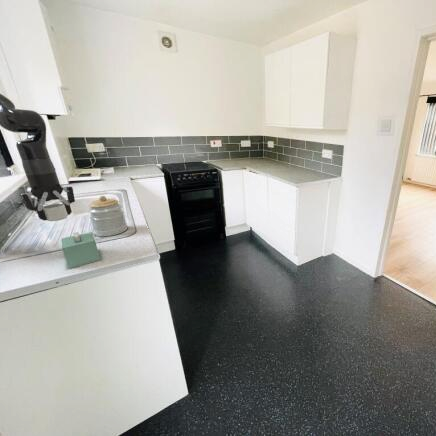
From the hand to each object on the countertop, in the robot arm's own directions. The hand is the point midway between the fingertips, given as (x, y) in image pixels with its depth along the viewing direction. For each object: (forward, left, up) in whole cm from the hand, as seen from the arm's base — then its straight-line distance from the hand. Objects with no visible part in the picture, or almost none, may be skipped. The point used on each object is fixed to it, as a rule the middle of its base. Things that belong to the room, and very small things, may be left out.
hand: (56, 217), depth 90 cm
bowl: (0, 0, -1) cm, 1 cm away
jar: (+16, +17, -16) cm, 28 cm away
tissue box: (+4, -8, -16) cm, 18 cm away
